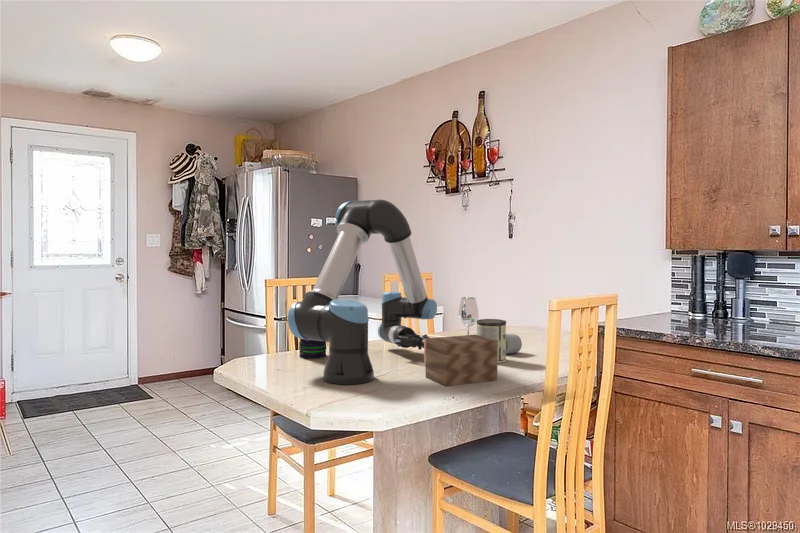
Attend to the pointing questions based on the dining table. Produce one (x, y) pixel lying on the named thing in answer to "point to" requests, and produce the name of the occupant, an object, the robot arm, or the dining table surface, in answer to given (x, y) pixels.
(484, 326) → the coffee can
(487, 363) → the block
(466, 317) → the wineglass
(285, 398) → the dining table surface
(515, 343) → the ceramic mug
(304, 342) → the storage jar
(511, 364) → the dining table surface
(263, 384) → the dining table surface
